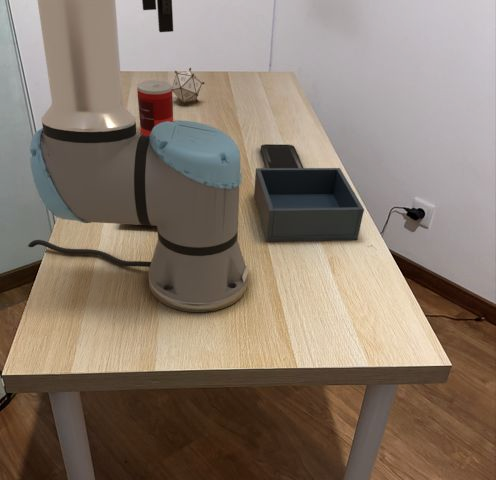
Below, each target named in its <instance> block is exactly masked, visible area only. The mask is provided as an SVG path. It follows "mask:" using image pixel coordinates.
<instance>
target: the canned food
mask: <svg viewBox="0 0 496 480" xmlns="http://www.w3.org/2000/svg"><path fill="white" fill-rule="evenodd" d="M172 86H173V84H171V83H170V82H167V81H164V80H156V79H152V80H144V81H141V82H139V83H138V84H137V87H136V92H137V101H138V102H137V104H138V105H137V106H138V116H139V126H140V135H144V136H150V133H151V132H152V129H153V128H154V127H155V126H156V125H157V124H160V123H162V122H166V121H169V122H174V104H173V103H174V102H173V91H172Z"/></svg>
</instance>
